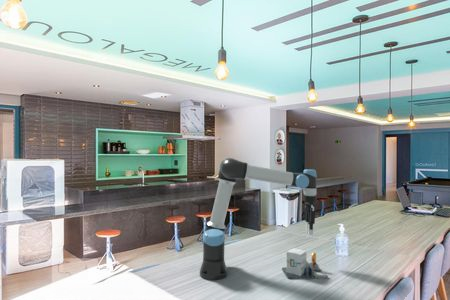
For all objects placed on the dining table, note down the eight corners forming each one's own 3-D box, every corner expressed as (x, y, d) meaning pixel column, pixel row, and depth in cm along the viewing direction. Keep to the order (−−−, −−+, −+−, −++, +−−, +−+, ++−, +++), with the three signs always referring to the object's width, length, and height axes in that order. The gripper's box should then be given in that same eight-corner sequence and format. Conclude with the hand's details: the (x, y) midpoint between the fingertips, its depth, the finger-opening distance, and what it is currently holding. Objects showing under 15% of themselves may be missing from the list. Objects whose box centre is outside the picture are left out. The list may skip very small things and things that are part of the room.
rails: (315, 278, 164) (315, 275, 164) (305, 267, 180) (306, 265, 180) (328, 278, 165) (328, 275, 165) (318, 267, 181) (318, 265, 181)
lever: (311, 270, 175) (311, 254, 175) (309, 267, 179) (309, 252, 179) (318, 270, 176) (318, 254, 176) (315, 267, 180) (316, 252, 180)
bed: (287, 278, 164) (287, 269, 164) (281, 269, 177) (281, 260, 177) (313, 278, 165) (313, 269, 165) (306, 269, 178) (306, 260, 178)
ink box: (292, 267, 177) (292, 247, 177) (306, 271, 171) (306, 250, 172) (286, 272, 170) (286, 251, 170) (300, 276, 165) (300, 254, 165)
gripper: (299, 193, 194) (299, 230, 194) (308, 196, 178) (307, 237, 177) (311, 193, 194) (311, 230, 194) (320, 197, 178) (320, 237, 178)
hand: (309, 233), depth 186 cm, fingers open, 3 cm apart
